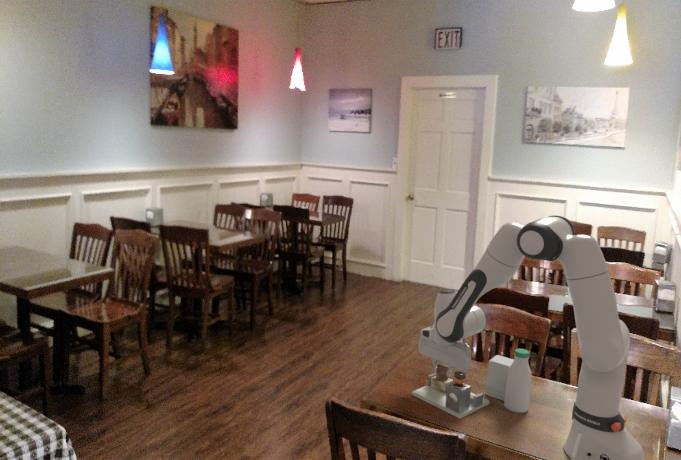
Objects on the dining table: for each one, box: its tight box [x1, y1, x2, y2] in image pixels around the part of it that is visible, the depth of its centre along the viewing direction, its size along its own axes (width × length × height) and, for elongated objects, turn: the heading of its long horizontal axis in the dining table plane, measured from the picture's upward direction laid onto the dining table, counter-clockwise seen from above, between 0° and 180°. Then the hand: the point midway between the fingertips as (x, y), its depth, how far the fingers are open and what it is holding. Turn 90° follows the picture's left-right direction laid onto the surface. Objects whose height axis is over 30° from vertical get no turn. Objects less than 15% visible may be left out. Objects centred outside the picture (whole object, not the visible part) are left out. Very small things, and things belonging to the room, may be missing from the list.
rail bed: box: [411, 372, 490, 420], centre depth 187 cm, size 20×16×5 cm
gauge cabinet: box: [445, 380, 472, 414], centre depth 179 cm, size 5×6×9 cm
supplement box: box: [485, 354, 515, 402], centre depth 192 cm, size 7×7×13 cm
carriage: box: [430, 362, 455, 393], centre depth 192 cm, size 6×5×8 cm
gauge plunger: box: [453, 370, 467, 389], centre depth 178 cm, size 4×4×8 cm
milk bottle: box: [503, 348, 533, 414], centre depth 182 cm, size 8×8×20 cm
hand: (442, 373), depth 192 cm, fingers closed on carriage, 3 cm apart
